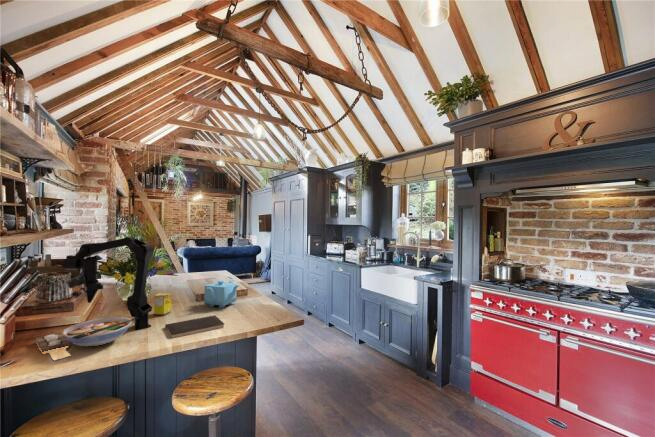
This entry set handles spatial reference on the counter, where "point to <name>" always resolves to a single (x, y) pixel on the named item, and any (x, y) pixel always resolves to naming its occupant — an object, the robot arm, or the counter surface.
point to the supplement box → (162, 304)
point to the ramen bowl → (97, 331)
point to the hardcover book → (194, 326)
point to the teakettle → (220, 293)
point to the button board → (45, 347)
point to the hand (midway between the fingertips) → (89, 302)
